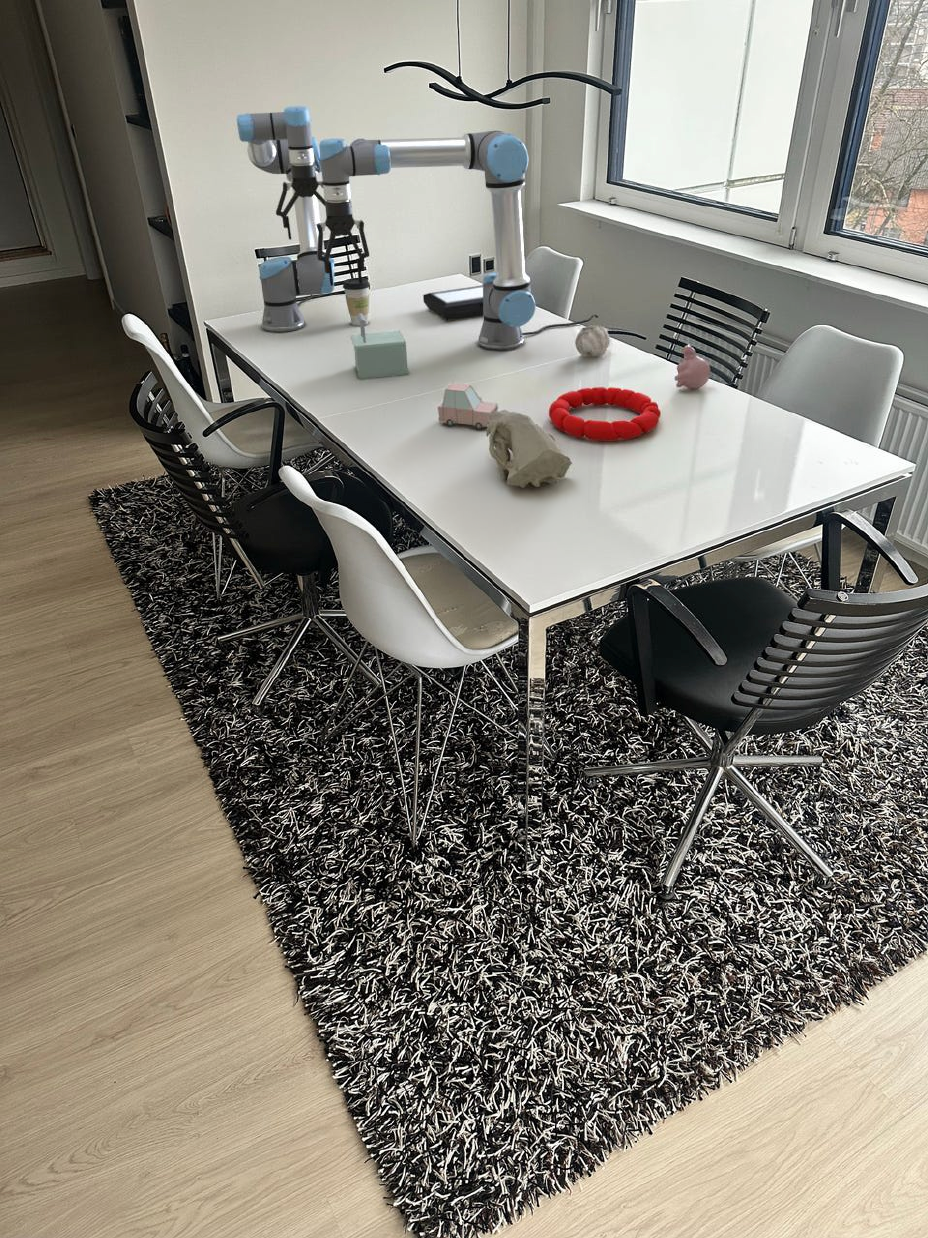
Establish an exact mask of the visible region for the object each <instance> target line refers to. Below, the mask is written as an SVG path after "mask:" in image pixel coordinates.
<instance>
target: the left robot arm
mask: <svg viewBox="0 0 928 1238" xmlns="http://www.w3.org/2000/svg"><path fill="white" fill-rule="evenodd" d="M236 125H237V131H238V132H237V133H238V138H239V141H241V142H245V143H247V155H248V159H249V161H250V162H251V163H252V164H253V166H255V167H256V168H258V169H259V170H261V171H263V172H265V173H268V174H273V175H285V176H286V180H287V181H288V182H286V181H283V182H282V192H281V195H280V197H279V201H278V203H277V207H276V210H275V215H276V216H278V217H281V218H282V224H283V228H284V229H287V236H288V240H289V241H291V240H292V234H291V226H290V218H289V216H288V214H289V212H290V211H291V209H292V208H293V206H294V211H295V218H296V219H295V220H296V227H297V235H298V242H299V243H298V244H299V250H300V251H299V252H298V253H297V254H296V260H294V261H293V260H292V258H291V257H290V256H277V257H273V258H270V259H267V260H264V261H263V262H261V263H260V265H259V266H258V270H259V280H260V285H261V286H260V287H261V292H262V299H263V313H262V319H261V326H262V330H264V331H265V332H271V333H286V332H293V331H296V330H297V331H298V330H300V329H302V328H304V326H305V319H304V317H303V314H302V312H301V310H300V307H299V306H300V305H301V304H303V303H305V302H307V301H310V300H312V299H313V297H314V295H326V294H332V293H333V292H334V290H335V259H334V258H332V257H331V256H330V257H329V260H328V261H331V267H332V276H333V286H331V284H330V277H329V273H328V274H326V272H325V266H324V262H323V261H319V260H318V258H317V251H318V229H317V223H322V219H321V212H320V204H319V202H320V203H321V204H322V205H323V206H324V207H325V203H326V200H325V199H324V196H322V195H321V194H320V193H319V192H318V188H319V187H321V188H322V189H323V180H319V179H320V173H322V171H321V163H320V148H319V144H318V142H317V139H316V138H315V137H314V136H313V135H312V125H311V116H310V110H309V108H308V107H307V106H303V105H295V106H293V105H292V106H286V107H284V110H283V111H277V112H259V113H258V112H257V113H248V112H247V113H241V114H238V115H236ZM291 188H292V196H291V198H290V199H289V201H288V203H287V204H286V206H285V207H284V208H283V206H284V203H285V199H286V197H287V193H288V191H290V189H291ZM282 209H283V211H282ZM329 231H330V230H329ZM330 233H331V231H330ZM325 252H326V248H325V243H324V241H323V247H322V256H324V255H325ZM300 296H301V297H302V296H303V297H304V296H310V297H308V298H305V299H302V300H300V301H299V302H298V303H297V297H300Z"/></svg>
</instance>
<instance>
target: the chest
mask: <svg viewBox="0 0 928 1238" xmlns="http://www.w3.org/2000/svg"><path fill="white" fill-rule="evenodd" d="M353 352H354V363H355V369H356V371H357V375H358V378H359V380H364V379H374V378H375V379H376V378H385V377H386V378H387V377H395V376H396V377H397V376H406V375H409V370H408V369H409V368H408V356H407V355H408V354H407V353H408V352H407V343H406V344H405V345H394V346H384V347H373V348H363V349H355V348H354V347H353Z"/></svg>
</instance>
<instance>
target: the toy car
mask: <svg viewBox="0 0 928 1238" xmlns="http://www.w3.org/2000/svg"><path fill="white" fill-rule="evenodd" d="M498 409H499V404H498V403H497V402H490V401H489V402H487V401H483V397H481V396H480V395H479V394H478V393H477V391H476V390H475V389H474V386H472V384H469V383H459V382H451V383H450V384H449V385H448V386H447V387H446V388H445V389H444V394H443V399H442V403H440V404H439V405H438V406H437V413H438V421H439V422H443V423H446V425H447V426H448V427H452V426H454V425H455V424H461V425H469V426H473V427H475V429H476V430H479V431H480V430H481V429H483V428H485V427H486V428H487V423H488V422H490V414H491V413H492V412H496V411H499V410H498Z"/></svg>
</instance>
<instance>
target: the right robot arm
mask: <svg viewBox="0 0 928 1238" xmlns="http://www.w3.org/2000/svg"><path fill="white" fill-rule="evenodd" d="M318 148H319V152H320V163H321V171H322V172H321V179H322V180H321V181H323V188H322V190H323V198H324V200H325V201H326V203H325V206H324V207H325V208H324V209H325V221H324V222H321V223H317V229H318V251H317V258H318V260H319V261H323V262H324V266H325V272H326V274H328V273H329V277H330V284H331V286H333V276H332V267H331V261H328V260H329V257H330V258H331V253H332V249H333V246H334V243H335V240H336V237H341V236H343V237H347V236H348V238H349V240H350V242H351V244H352V246H353V248H354V250H355V251H356V254H357V258H356V267H357V268H356V269H357V278H358V280H359V283H362V278H363V277H362V272H363V271H365V259H366V258H369V257H370V250H369V247H368V243H367V238H366V234H365V222H364V220H363V219H360V220H358V219H354V216H353V206H352V201H351V200H350V199H351V197H352V196H351V195H352V193H351V184H350V177H361V176H364V177H365V176H380V175H388V174H389V173H390V172H391V169H397V168H398V169H401V168H403V169H404V168H433V167H435V168H436V167H438V168H439V167H463V169H465V170H476V171H481V172H484V181H485V188H486V190H488V191H489V192H490V194H491V206H492V207H491V208H492V220H493V221H492V222H493V233H494V234H493V235H494V248H495V262H496V272H490V273H487V274H485V275H484V276H483V278H482V284H481V285H482V286H483V315H482V317H483V318H482V319H483V321H482V325H481V328H480V332H479V336H478V341H477V342H478V346H479V347H481V348H482V349H486V350H490V351H509V350H515V349H518V348H520V347H522V346H523V345H524V336H530V335H536V334H539V333H541V332H543V331H544V330H546V329H549V328H558V327H570V326H574V325H580V324H585V323H587V322H590V321H591V320H592V319H593V318H595V319H598V318H599V315H598V314H597V313H593V314H592V315H590V316H589V318H587V319H586V318H585V319H583V320H578V321H573V322H567V323H555V324H548V325H545V326H542V327H541V328H540V329H537V330H535V331H527V332H526V331H525V332H523V331H522V329H521V327H523V326H524V325H526V324H527V323H529V322H530V320H531V319H532V318H533V317H534V315H535V312H536V301H535V298H534V296H533V295H532V292H531V278H530V276H528V274H527V273H526V271H525V269H526V268H525V256H524V255H525V252H524V234H523V217H522V199H521V198H522V197H521V190H522V188H523V187H524V186H525V185H526V177H525V173H526V171H527V169H528V165H529V154H528V153H529V152H528V150H527V148H526V146H525V144H524V143H523V141H522V140H521V139H519V138H518V137H517V136H516V135H514V134H511V133H506V132H504V131H501V130H488V131H482V132H481V131H480V132H471V133H470V132H469V133H467V132H466V133H464V134H463V135H462V136H461V137H433V138H432V137H430V138H429V137H428V138H424V137H423V138H393V139H389V138H387V139H364V138H357V139H354V140H353V141H351V142H350V144H349V145H347V141H346V140H345V139H344V138H325V139H322V140H320V142H319V144H318ZM354 226H355V227H356V228H357V229H358V233H359V236H360V241H361V244H362V249H363V252H362V251H361V249H360V247H359V245H358V243H357V241H356V239H355V237H354V235H353V233H352V229H353V227H354ZM326 227H327V229H328V230H329V231H331V232H330V234H329V238H328V242H327V245H326V248H325V250H326V252H325V255H324V256H322V247H323V242H324V232H325V230H326Z"/></svg>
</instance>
